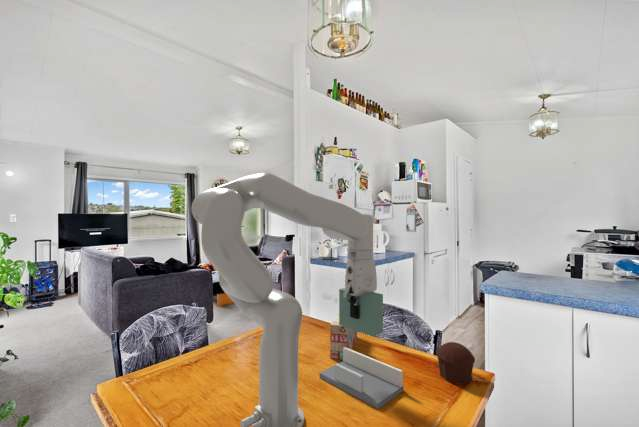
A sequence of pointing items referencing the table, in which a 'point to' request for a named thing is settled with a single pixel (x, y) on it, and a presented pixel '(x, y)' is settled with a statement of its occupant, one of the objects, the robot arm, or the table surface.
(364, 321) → the book
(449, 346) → the muffin
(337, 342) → the printed carton
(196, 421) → the table surface
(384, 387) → the grey slotted holder
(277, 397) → the robot arm
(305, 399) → the table surface
